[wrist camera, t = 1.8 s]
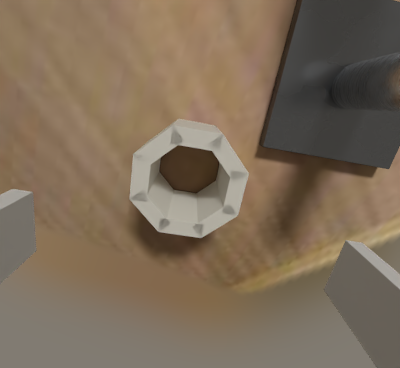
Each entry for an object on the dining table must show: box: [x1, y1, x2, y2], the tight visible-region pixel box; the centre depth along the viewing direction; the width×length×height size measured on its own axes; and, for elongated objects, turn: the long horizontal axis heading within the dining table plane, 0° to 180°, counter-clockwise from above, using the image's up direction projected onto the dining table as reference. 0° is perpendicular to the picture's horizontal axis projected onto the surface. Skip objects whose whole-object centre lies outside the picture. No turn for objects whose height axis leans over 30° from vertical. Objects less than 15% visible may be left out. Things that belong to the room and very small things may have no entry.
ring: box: [130, 119, 249, 238], centre depth 19 cm, size 8×8×6 cm
